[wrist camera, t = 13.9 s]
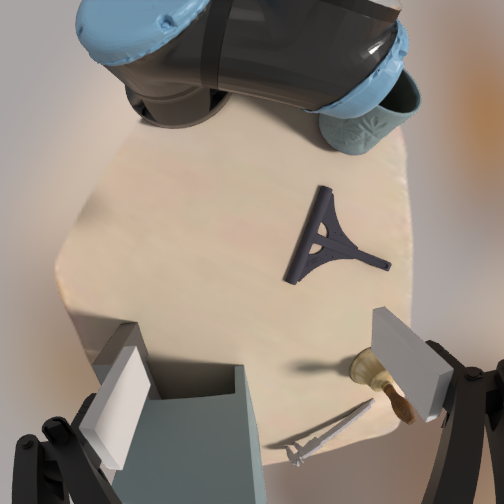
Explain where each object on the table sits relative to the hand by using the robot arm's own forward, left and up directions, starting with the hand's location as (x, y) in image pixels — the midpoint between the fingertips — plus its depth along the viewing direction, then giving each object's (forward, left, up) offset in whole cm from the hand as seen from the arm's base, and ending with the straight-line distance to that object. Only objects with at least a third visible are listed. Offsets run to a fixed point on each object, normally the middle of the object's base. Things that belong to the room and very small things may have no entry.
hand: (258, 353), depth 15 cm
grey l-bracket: (+19, -19, -27) cm, 38 cm away
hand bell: (+25, +19, -27) cm, 41 cm away
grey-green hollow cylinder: (-14, +17, -26) cm, 34 cm away
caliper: (+39, +11, -27) cm, 49 cm away
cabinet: (+27, -11, -27) cm, 39 cm away
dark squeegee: (+3, +15, -28) cm, 32 cm away
